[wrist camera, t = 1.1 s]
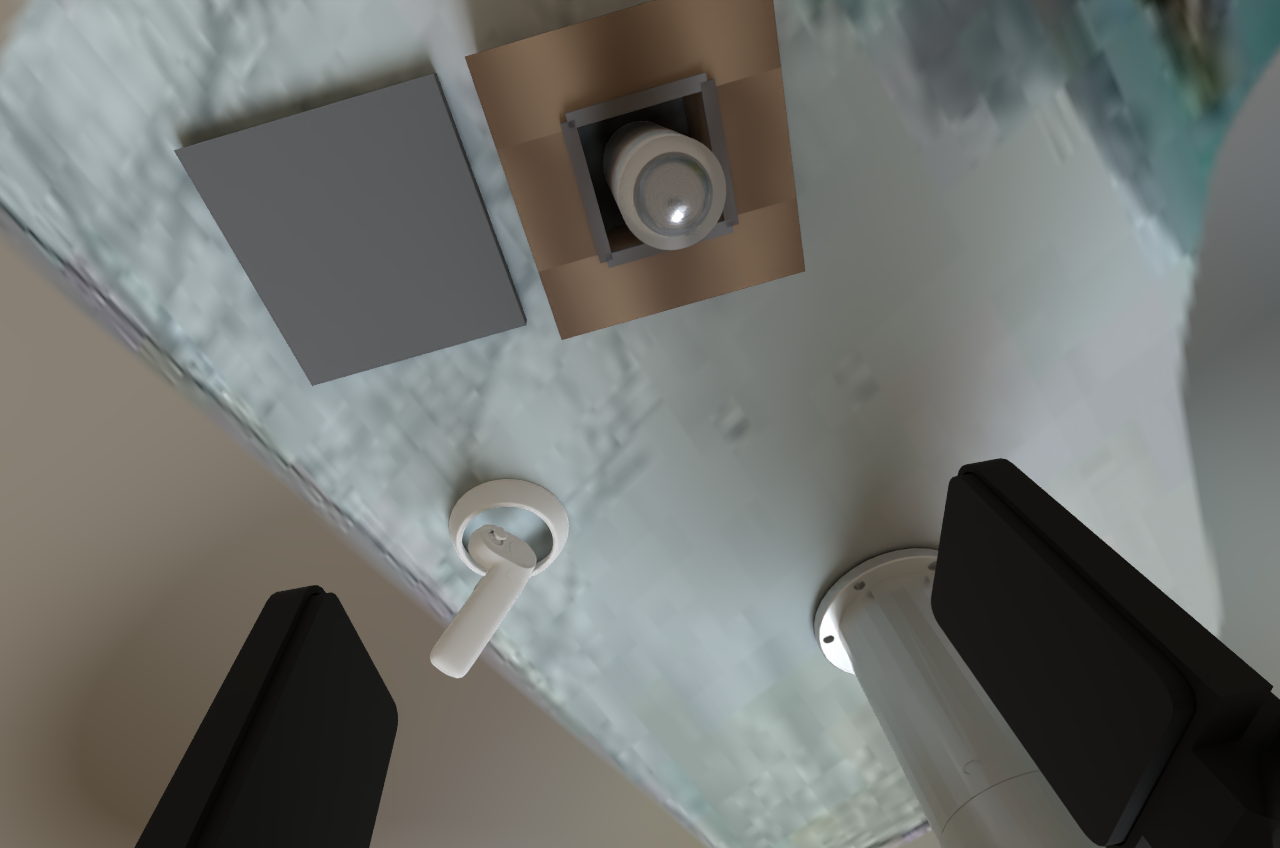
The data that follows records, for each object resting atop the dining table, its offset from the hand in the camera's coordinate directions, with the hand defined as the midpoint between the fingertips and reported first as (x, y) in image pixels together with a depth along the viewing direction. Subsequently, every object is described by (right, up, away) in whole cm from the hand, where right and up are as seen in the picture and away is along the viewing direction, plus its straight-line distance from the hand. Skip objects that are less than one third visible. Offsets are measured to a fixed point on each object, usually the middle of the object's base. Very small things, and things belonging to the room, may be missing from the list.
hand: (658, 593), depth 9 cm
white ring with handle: (-9, -4, +31) cm, 32 cm away
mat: (-14, +12, +21) cm, 28 cm away
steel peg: (0, +15, +21) cm, 26 cm away
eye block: (0, +15, +21) cm, 26 cm away
